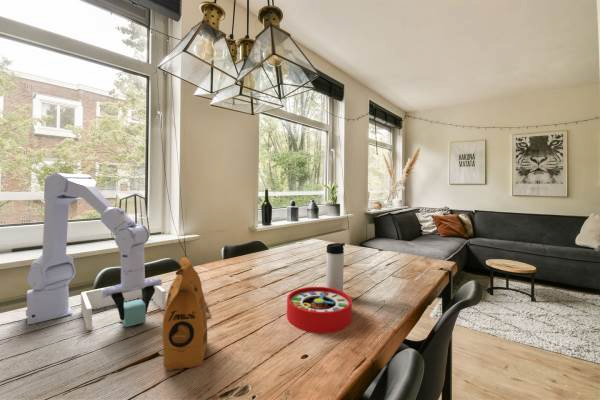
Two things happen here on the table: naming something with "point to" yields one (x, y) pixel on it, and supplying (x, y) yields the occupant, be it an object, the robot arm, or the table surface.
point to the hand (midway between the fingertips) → (133, 315)
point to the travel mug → (335, 266)
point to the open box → (96, 301)
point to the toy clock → (319, 309)
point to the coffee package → (184, 320)
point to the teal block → (134, 312)
